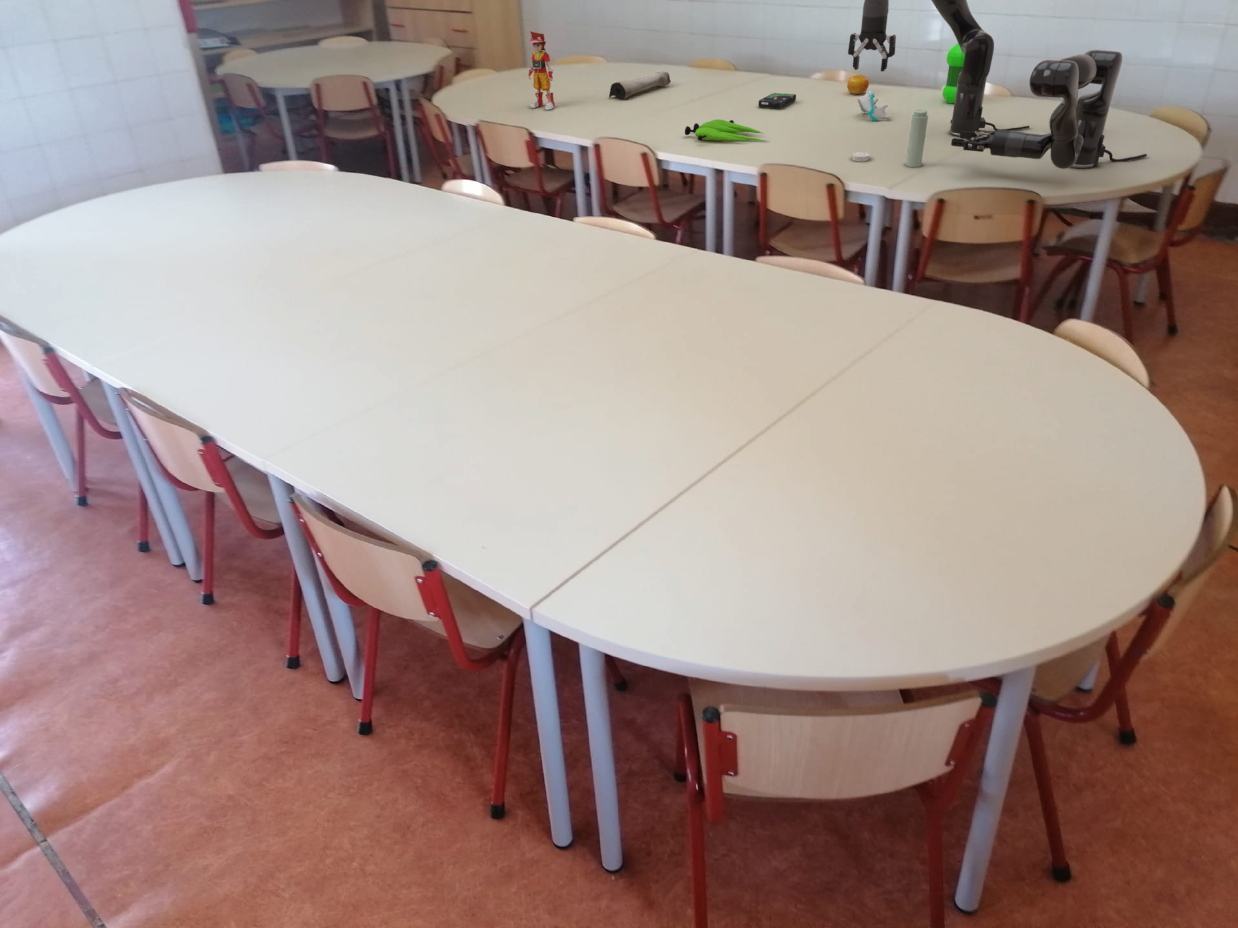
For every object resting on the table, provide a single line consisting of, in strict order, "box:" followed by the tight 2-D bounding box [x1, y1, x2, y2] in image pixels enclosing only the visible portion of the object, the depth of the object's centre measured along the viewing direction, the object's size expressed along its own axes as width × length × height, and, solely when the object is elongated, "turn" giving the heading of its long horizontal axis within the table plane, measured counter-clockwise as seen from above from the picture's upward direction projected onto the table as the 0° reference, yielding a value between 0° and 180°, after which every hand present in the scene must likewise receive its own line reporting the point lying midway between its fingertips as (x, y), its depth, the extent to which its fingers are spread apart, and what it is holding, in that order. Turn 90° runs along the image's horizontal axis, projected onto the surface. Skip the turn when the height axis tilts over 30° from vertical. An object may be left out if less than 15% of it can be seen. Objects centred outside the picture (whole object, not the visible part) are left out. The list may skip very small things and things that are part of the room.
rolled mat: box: [608, 71, 672, 101], centre depth 395 cm, size 30×9×10 cm
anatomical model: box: [857, 89, 892, 122], centre depth 341 cm, size 15×10×10 cm
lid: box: [851, 151, 870, 163], centre depth 300 cm, size 6×6×2 cm
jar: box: [905, 109, 929, 168], centre depth 287 cm, size 5×5×17 cm
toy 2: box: [684, 119, 767, 142], centre depth 329 cm, size 28×5×30 cm
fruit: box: [846, 74, 870, 95], centre depth 372 cm, size 8×8×8 cm
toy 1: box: [527, 31, 556, 111], centre depth 374 cm, size 12×9×30 cm
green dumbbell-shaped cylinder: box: [942, 42, 965, 104], centre depth 348 cm, size 10×10×25 cm
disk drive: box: [758, 92, 797, 110], centre depth 365 cm, size 10×3×15 cm
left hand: (869, 70), depth 284 cm, fingers open, 8 cm apart
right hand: (956, 138), depth 281 cm, fingers open, 8 cm apart
